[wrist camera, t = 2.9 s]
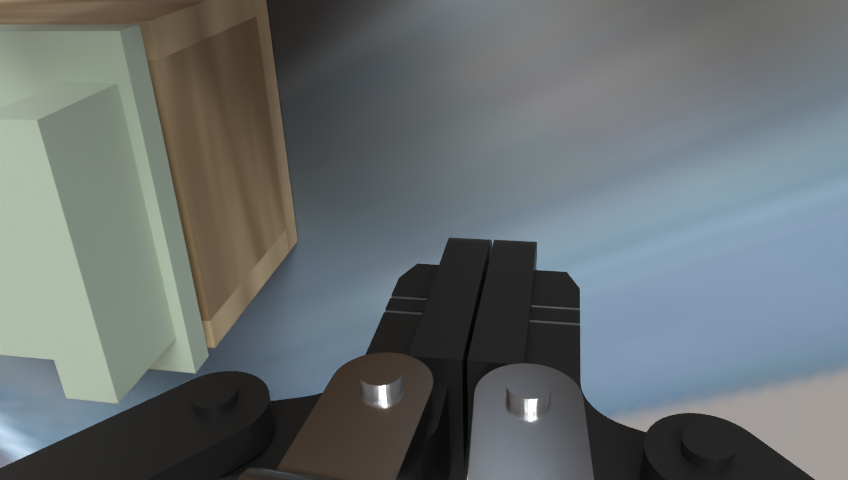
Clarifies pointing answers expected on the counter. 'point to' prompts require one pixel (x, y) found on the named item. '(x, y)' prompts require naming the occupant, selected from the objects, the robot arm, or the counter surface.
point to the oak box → (209, 135)
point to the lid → (90, 213)
